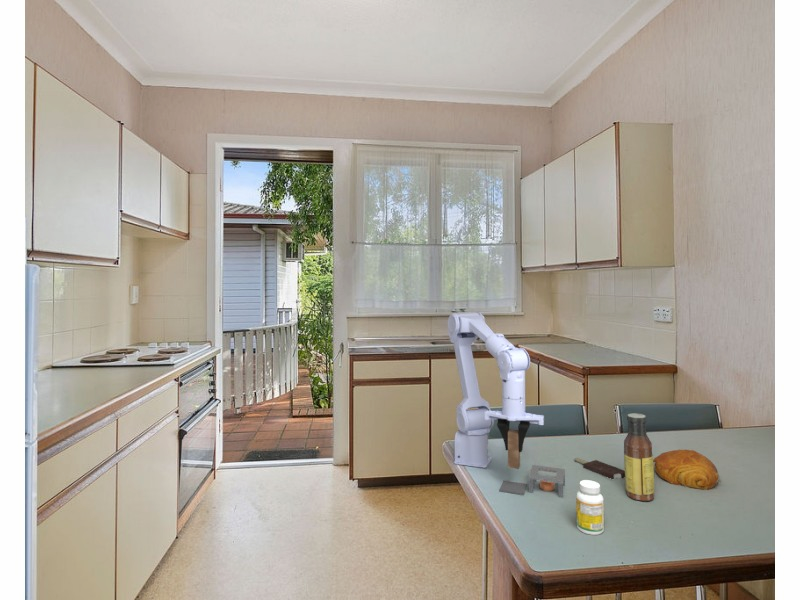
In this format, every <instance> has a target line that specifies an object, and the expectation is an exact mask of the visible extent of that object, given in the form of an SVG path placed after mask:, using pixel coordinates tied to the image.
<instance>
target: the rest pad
mask: <svg viewBox="0 0 800 600" xmlns="http://www.w3.org/2000/svg"><path fill="white" fill-rule="evenodd" d="M527 487H528V483H524V482H517V481H510V480H505V479H504V480H503V481H502V483H501V485H500V487H499V488H498V491H499V492H501V493H506V492H507V493H509V494H514V495H520V496H524V495H525V493H526V489H527Z"/></svg>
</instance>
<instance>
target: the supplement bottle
mask: <svg viewBox="0 0 800 600" xmlns="http://www.w3.org/2000/svg"><path fill="white" fill-rule="evenodd" d="M575 497H576V499H575V501H576V503H575V505H576V513H575V515H576V519H575V520H576V522H575V523H576V524H575V525H576V528H577V529H578V530H579V531H581V532H582V533H583V534H586V535H592V536H598V535H601V534H603V532H604V530H605V529H604V528H605V524H604V523H605V522H604V521H605V519H604V515H605V514H604V513H605V512H604V511H605V510H604V506H605V505H604V500H605V499H604V496H603V495H602V494H601V485H600V483H598V481H594V480H591V479H590V480H589V479H583V480H580V482H579V490H578V491H577V492H576V496H575Z"/></svg>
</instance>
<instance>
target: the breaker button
mask: <svg viewBox="0 0 800 600" xmlns="http://www.w3.org/2000/svg"><path fill="white" fill-rule="evenodd" d="M539 485H540V486H539V488H540V490H542V491H545V492H552V491H555V483H554V482H547V481H540V480H539Z"/></svg>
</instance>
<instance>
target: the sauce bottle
mask: <svg viewBox="0 0 800 600" xmlns="http://www.w3.org/2000/svg"><path fill="white" fill-rule="evenodd" d="M626 419H627V425H628V427H627V428H628V430H627V431H628V432H627V434H626V437H625V438H624V440H623V461H624V462H623V464H624V471H625V478H624V480H625V493H626V495H627V496H628V497H629V498H630V499H632V500H635V501H640V502H650V501H653V500H654V499H655V498H654V497H655V472H654V471H655V467H654V462H653V460H654V455H653V446H652V445H653V443H652V441H651V440H650V438H649V436H648V434H647V431H646V430H647V429H646V423H647V416H646V415H645V414H643V413H635V412H634V413H633V412H632V413H628V414H627V417H626Z"/></svg>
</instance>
